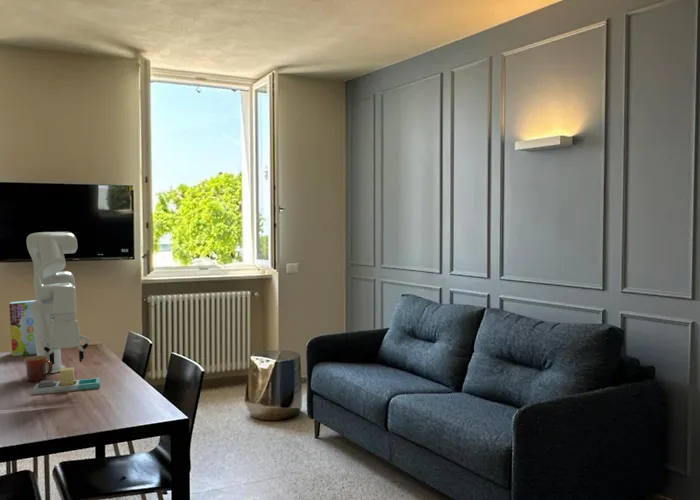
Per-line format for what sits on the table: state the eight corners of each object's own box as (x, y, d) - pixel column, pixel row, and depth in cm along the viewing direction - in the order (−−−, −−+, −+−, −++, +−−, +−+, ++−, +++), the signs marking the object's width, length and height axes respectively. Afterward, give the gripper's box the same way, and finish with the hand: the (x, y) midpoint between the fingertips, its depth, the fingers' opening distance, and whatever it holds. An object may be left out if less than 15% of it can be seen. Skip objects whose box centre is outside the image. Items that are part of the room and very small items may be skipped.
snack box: (61, 348, 330) (58, 298, 329) (61, 352, 322) (58, 300, 321) (12, 353, 322) (10, 301, 320) (11, 356, 314) (9, 303, 312)
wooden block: (60, 390, 247) (60, 370, 247) (61, 387, 251) (61, 368, 251) (73, 389, 249) (73, 369, 248) (74, 386, 253) (73, 367, 252)
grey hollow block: (40, 392, 245) (40, 383, 245) (41, 389, 249) (41, 380, 249) (53, 391, 246) (53, 382, 246) (54, 388, 250) (54, 379, 250)
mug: (19, 385, 261) (18, 359, 260) (37, 379, 269) (35, 355, 268) (43, 387, 257) (42, 361, 256) (60, 381, 265) (59, 356, 264)
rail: (33, 397, 242) (32, 389, 242) (35, 392, 250) (35, 383, 250) (100, 391, 250) (99, 382, 250) (100, 385, 258) (100, 377, 258)
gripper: (38, 320, 242) (40, 366, 242) (89, 317, 247) (91, 362, 248) (40, 318, 249) (43, 362, 249) (89, 314, 255) (91, 358, 255)
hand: (67, 362), depth 249 cm, fingers open, 9 cm apart
